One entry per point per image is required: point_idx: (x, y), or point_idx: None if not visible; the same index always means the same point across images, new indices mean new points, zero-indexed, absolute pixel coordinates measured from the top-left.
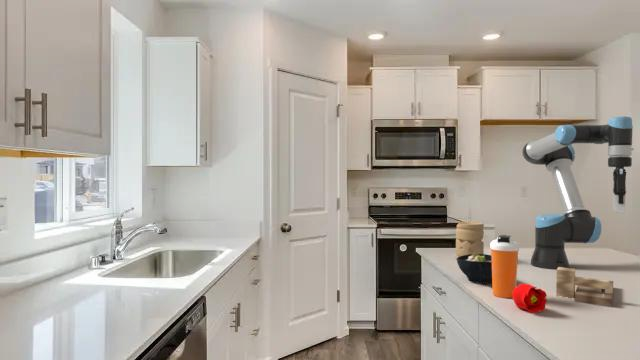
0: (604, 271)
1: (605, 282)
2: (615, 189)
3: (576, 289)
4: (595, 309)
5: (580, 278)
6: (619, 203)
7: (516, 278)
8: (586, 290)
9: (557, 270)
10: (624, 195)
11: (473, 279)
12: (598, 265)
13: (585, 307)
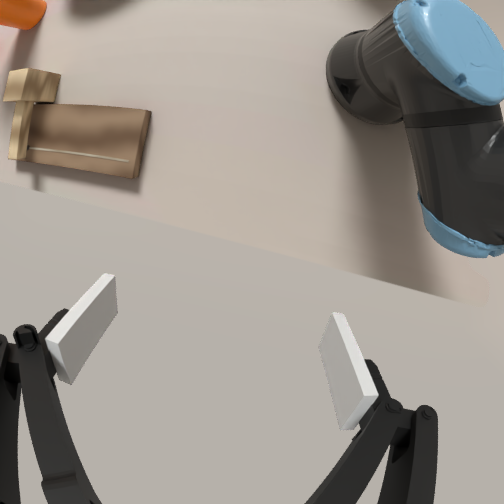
0: (346, 204)
1: (9, 153)
2: (359, 436)
3: (38, 104)
4: (2, 135)
5: (14, 111)
6: (64, 312)
7: (10, 24)
8: (37, 120)
9: (10, 72)
10: (59, 376)
11: None
12: (418, 214)
13: (5, 122)
